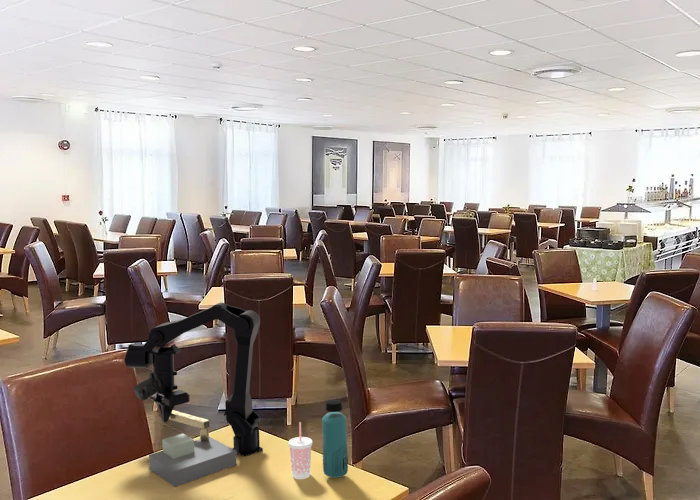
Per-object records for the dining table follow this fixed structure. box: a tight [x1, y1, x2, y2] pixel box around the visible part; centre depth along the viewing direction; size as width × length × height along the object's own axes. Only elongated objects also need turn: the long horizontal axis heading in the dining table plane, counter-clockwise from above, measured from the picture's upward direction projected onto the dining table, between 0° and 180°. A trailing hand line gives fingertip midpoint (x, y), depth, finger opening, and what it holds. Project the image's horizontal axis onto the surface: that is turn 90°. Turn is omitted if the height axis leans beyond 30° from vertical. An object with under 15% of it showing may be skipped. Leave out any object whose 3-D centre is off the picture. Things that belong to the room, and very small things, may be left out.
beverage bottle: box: [321, 399, 349, 478], centre depth 160 cm, size 6×7×20 cm
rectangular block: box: [161, 433, 195, 459], centre depth 168 cm, size 6×6×4 cm
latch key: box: [168, 409, 210, 441], centre depth 180 cm, size 17×2×6 cm, turn 55°
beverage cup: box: [288, 421, 313, 480], centre depth 162 cm, size 6×6×14 cm
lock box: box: [148, 436, 237, 487], centre depth 168 cm, size 18×14×4 cm
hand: (165, 421), depth 181 cm, fingers closed
